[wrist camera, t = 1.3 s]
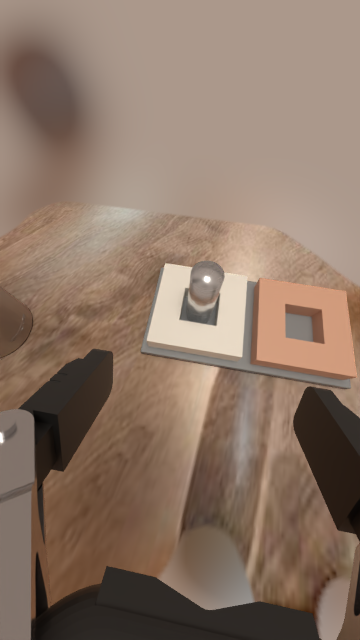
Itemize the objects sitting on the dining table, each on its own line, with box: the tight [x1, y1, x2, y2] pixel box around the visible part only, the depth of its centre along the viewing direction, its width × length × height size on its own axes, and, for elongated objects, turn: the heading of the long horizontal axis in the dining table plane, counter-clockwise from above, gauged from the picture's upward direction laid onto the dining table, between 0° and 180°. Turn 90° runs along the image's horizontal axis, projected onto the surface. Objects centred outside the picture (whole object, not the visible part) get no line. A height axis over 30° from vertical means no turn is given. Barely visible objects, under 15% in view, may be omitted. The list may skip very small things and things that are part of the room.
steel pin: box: [186, 261, 225, 324], centre depth 28 cm, size 4×4×10 cm
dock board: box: [141, 263, 357, 389], centre depth 32 cm, size 28×14×4 cm, turn 80°
